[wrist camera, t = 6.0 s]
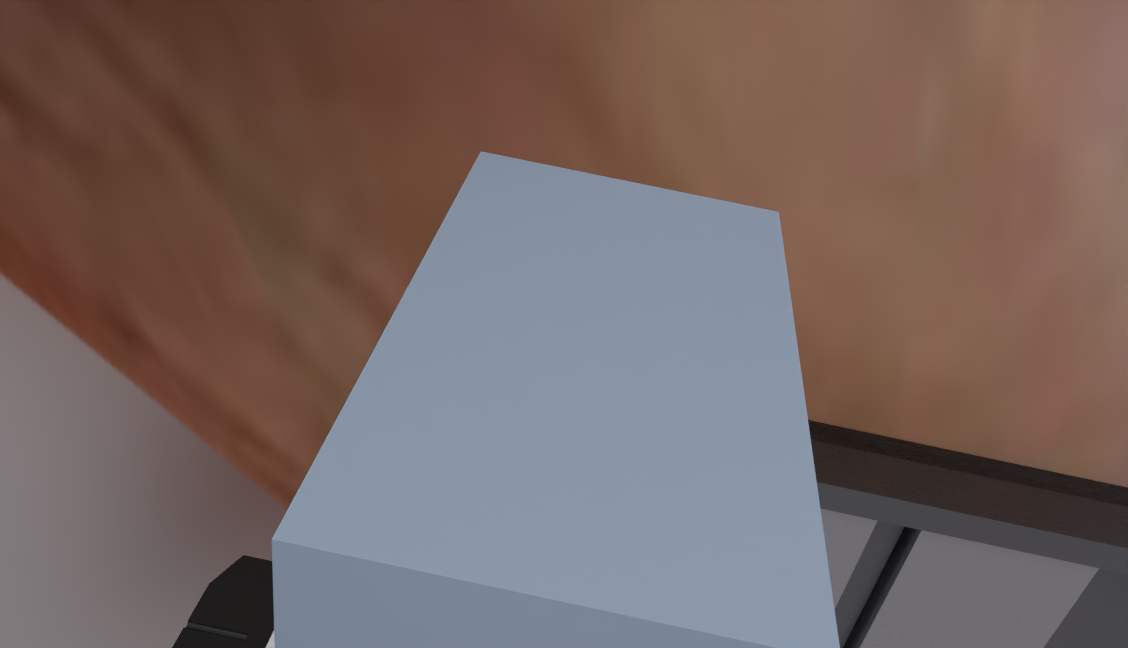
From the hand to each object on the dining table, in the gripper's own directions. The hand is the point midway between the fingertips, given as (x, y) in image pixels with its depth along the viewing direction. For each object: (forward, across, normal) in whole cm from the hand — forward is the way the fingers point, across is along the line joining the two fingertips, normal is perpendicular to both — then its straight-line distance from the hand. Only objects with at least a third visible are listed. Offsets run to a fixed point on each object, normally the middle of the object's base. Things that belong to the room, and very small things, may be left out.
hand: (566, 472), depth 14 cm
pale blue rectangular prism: (+1, 0, 0) cm, 1 cm away
